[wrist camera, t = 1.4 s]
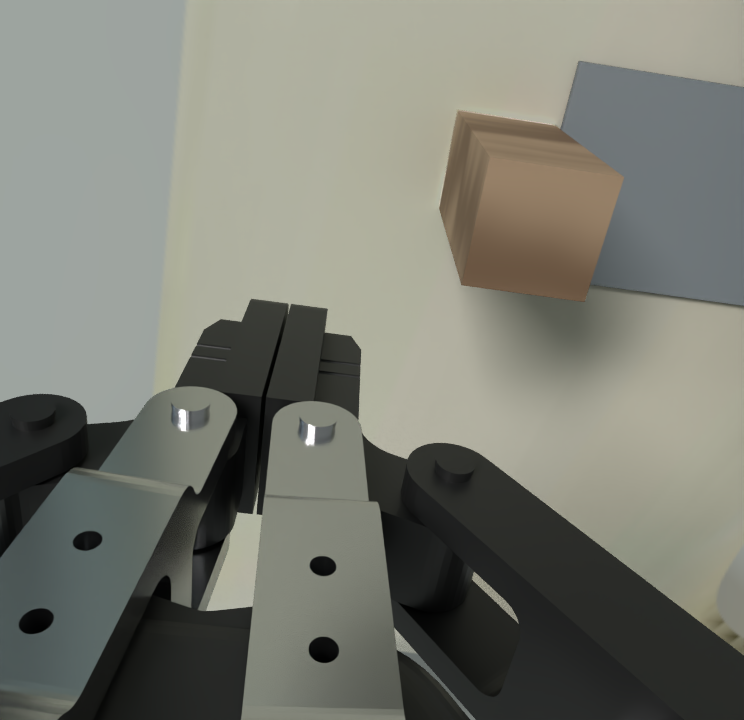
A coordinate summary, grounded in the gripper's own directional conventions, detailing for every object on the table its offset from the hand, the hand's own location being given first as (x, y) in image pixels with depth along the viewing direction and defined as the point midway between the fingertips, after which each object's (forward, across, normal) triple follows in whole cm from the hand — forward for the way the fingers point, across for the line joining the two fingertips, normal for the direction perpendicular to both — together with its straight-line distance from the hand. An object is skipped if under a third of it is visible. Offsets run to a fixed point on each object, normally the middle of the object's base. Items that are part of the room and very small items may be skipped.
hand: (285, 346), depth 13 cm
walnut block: (+20, -8, 0) cm, 22 cm away
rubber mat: (+20, -16, 0) cm, 26 cm away
